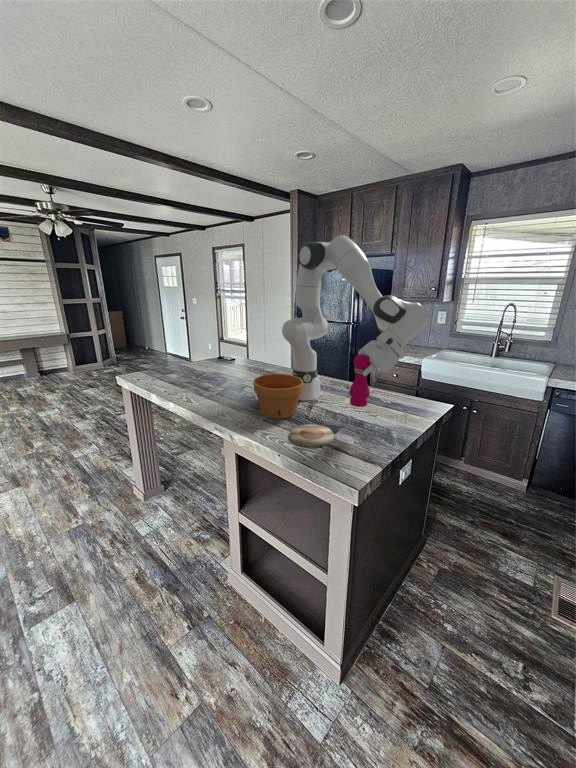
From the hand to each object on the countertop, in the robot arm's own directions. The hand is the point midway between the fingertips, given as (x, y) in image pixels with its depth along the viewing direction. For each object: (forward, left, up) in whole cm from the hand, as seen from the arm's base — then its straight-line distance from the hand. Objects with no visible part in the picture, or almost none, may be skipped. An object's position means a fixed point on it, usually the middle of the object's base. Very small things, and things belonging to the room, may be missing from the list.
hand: (359, 371), depth 113 cm
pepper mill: (0, 0, -12) cm, 12 cm away
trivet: (-1, -16, -25) cm, 30 cm away
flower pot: (-25, -26, -25) cm, 44 cm away
